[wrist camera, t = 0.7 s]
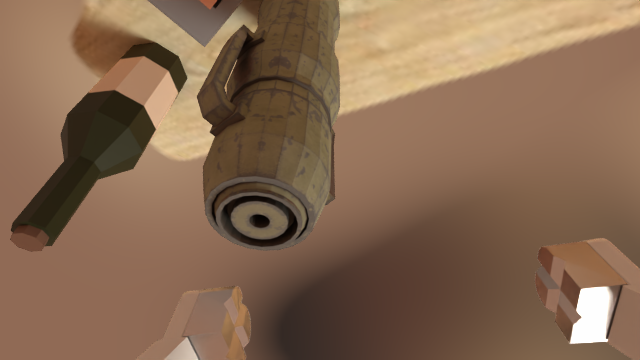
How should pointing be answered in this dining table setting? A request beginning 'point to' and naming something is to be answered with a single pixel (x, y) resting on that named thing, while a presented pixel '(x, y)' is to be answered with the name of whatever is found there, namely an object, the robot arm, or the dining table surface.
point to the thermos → (273, 125)
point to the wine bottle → (103, 138)
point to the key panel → (197, 16)
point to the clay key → (208, 3)
